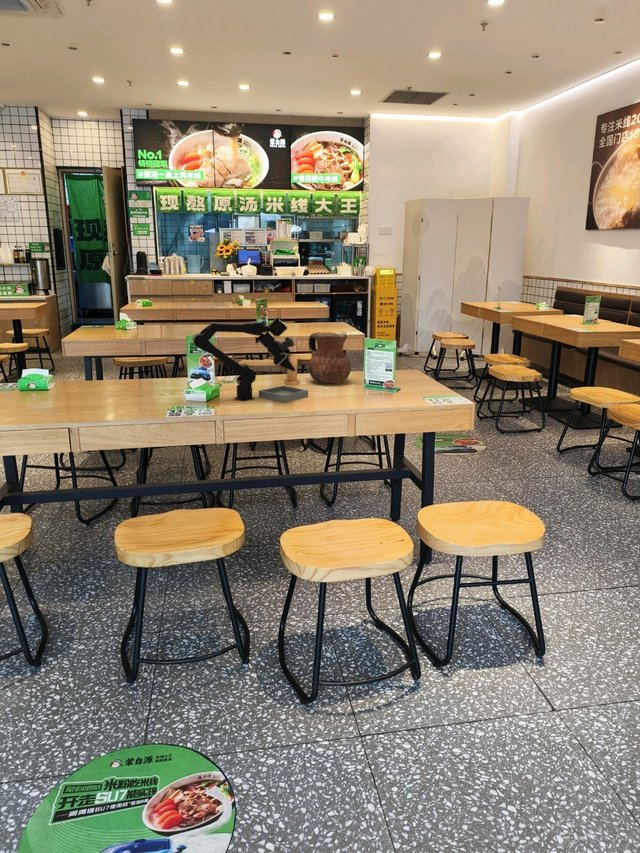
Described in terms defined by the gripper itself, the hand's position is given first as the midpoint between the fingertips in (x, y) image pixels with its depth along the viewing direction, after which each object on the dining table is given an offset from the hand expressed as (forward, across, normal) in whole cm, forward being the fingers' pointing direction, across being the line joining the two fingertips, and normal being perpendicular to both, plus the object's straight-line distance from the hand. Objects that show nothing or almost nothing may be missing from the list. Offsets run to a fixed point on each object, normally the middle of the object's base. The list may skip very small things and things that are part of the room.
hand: (295, 369), depth 280 cm
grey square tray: (+6, +2, +13) cm, 15 cm away
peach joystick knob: (+4, 0, +6) cm, 7 cm away
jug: (+19, +38, -1) cm, 42 cm away
